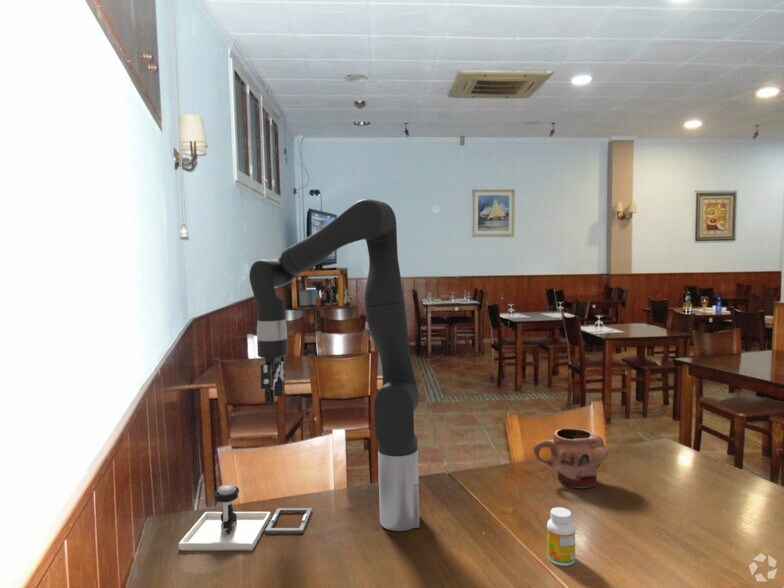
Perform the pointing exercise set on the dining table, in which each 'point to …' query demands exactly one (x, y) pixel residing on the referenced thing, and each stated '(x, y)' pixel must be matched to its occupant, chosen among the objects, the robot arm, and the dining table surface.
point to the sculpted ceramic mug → (574, 456)
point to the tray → (241, 538)
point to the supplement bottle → (561, 537)
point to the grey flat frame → (272, 530)
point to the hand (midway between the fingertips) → (274, 400)
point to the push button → (227, 507)
